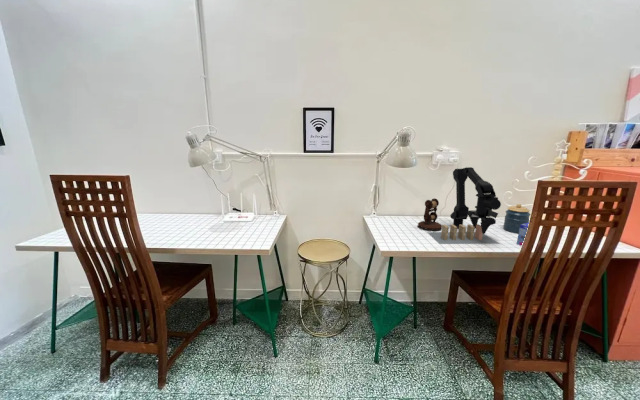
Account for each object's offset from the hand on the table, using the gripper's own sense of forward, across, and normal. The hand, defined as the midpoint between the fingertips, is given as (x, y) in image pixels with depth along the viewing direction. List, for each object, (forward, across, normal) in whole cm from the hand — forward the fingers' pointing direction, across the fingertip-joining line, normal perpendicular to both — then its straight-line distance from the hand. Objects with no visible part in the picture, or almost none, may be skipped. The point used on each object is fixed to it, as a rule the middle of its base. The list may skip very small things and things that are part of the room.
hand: (479, 230), depth 157 cm
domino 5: (+5, 0, 0) cm, 5 cm away
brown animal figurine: (+6, +20, +21) cm, 30 cm away
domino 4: (+5, 0, +5) cm, 7 cm away
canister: (+6, +15, -32) cm, 36 cm away
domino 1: (+5, 0, +20) cm, 21 cm away
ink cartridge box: (+6, -9, -22) cm, 24 cm away
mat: (+5, +2, +9) cm, 11 cm away
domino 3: (+5, 0, +10) cm, 11 cm away
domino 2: (+5, 0, +15) cm, 16 cm away
